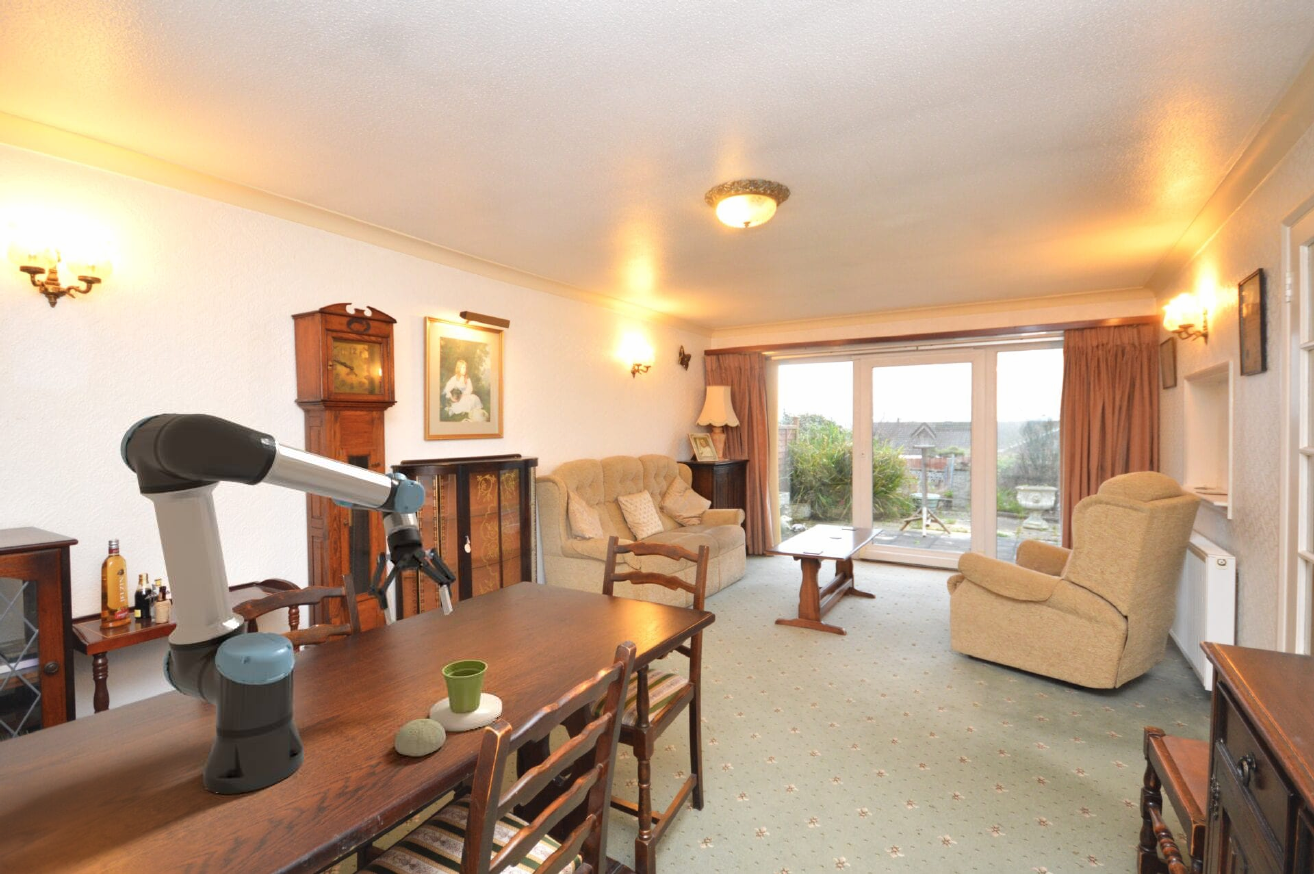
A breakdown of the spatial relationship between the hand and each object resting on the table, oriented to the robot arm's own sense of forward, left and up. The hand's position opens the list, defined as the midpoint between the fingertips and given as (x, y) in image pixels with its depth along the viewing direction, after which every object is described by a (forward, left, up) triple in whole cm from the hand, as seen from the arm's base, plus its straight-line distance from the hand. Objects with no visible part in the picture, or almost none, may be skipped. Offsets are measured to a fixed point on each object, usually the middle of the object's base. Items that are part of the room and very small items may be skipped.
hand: (420, 617), depth 139 cm
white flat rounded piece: (+3, -14, -19) cm, 24 cm away
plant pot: (+3, -14, -17) cm, 23 cm away
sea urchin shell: (-10, -20, -19) cm, 29 cm away
